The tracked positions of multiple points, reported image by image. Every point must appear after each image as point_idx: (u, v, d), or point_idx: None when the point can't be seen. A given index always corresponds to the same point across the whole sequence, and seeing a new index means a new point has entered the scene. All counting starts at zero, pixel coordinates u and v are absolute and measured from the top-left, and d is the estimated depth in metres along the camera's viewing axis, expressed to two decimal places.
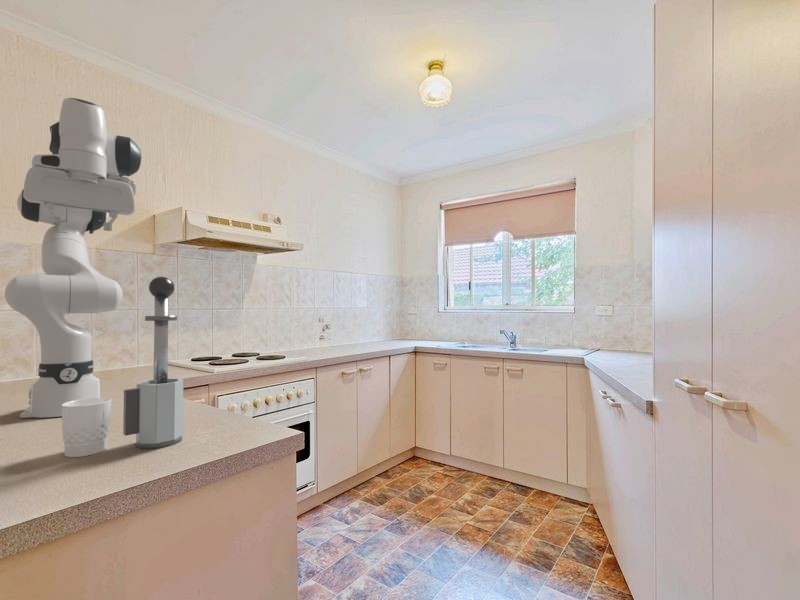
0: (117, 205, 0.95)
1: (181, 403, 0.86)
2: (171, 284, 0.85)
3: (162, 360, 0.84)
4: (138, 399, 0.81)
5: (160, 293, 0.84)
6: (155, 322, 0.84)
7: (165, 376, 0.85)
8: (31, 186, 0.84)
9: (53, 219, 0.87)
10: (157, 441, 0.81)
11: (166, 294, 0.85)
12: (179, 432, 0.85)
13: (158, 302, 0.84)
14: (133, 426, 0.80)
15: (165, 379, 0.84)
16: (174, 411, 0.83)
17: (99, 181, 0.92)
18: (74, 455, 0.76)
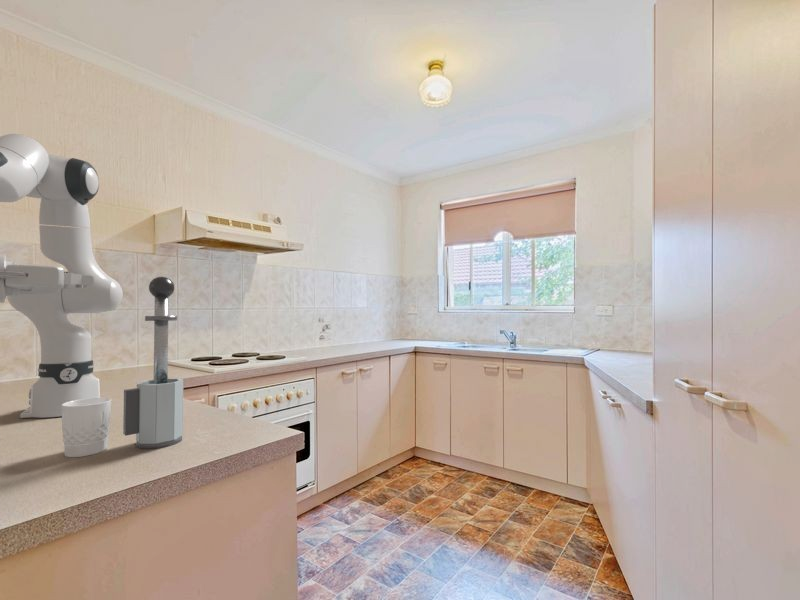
0: None
1: (181, 403, 0.86)
2: (171, 284, 0.85)
3: (162, 360, 0.84)
4: (138, 399, 0.81)
5: (160, 293, 0.84)
6: (155, 322, 0.84)
7: (165, 376, 0.85)
8: (38, 292, 0.81)
9: (80, 287, 0.83)
10: (157, 441, 0.81)
11: (166, 294, 0.85)
12: (179, 432, 0.85)
13: (158, 302, 0.84)
14: (133, 426, 0.80)
15: (165, 379, 0.84)
16: (174, 411, 0.83)
17: (12, 287, 0.70)
18: (74, 455, 0.76)
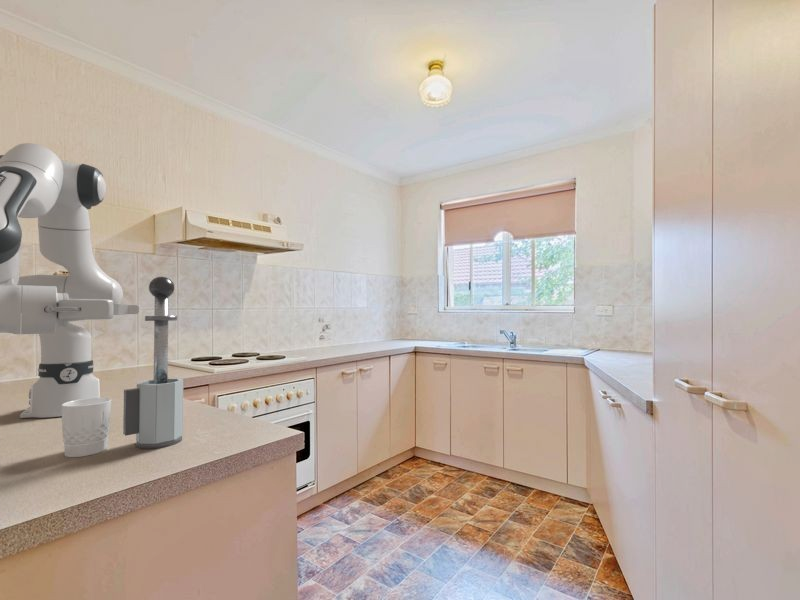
0: None
1: (181, 403, 0.86)
2: (171, 284, 0.85)
3: (162, 360, 0.84)
4: (138, 399, 0.81)
5: (160, 293, 0.84)
6: (155, 322, 0.84)
7: (165, 376, 0.85)
8: None
9: None
10: (157, 441, 0.81)
11: (166, 294, 0.85)
12: (179, 432, 0.85)
13: (158, 302, 0.84)
14: (133, 426, 0.80)
15: (165, 379, 0.84)
16: (174, 411, 0.83)
17: (64, 319, 0.72)
18: (74, 455, 0.76)
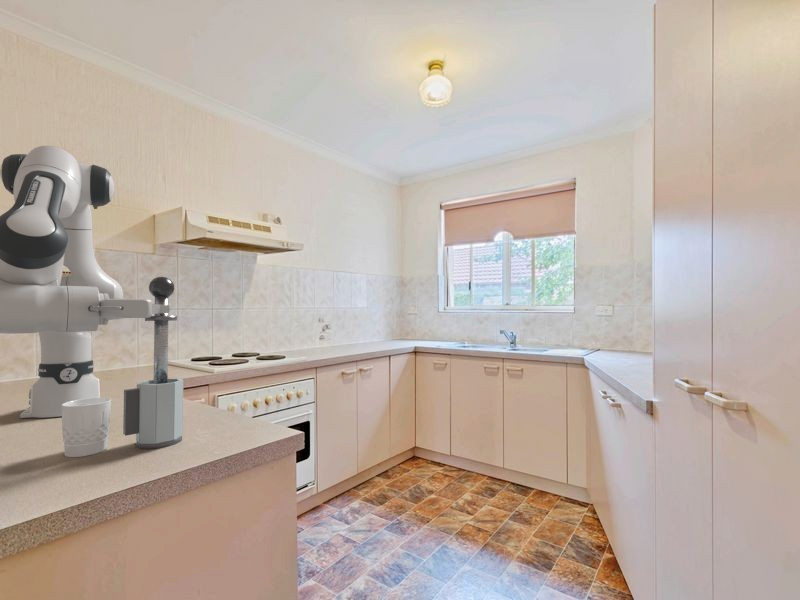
0: None
1: (181, 403, 0.86)
2: (171, 284, 0.85)
3: (162, 360, 0.84)
4: (138, 399, 0.81)
5: (160, 293, 0.84)
6: (155, 322, 0.84)
7: (165, 376, 0.85)
8: (117, 318, 0.87)
9: None
10: (157, 441, 0.81)
11: (166, 294, 0.85)
12: (179, 432, 0.85)
13: (158, 302, 0.84)
14: (133, 426, 0.80)
15: (165, 379, 0.84)
16: (174, 411, 0.83)
17: (105, 318, 0.76)
18: (74, 455, 0.76)
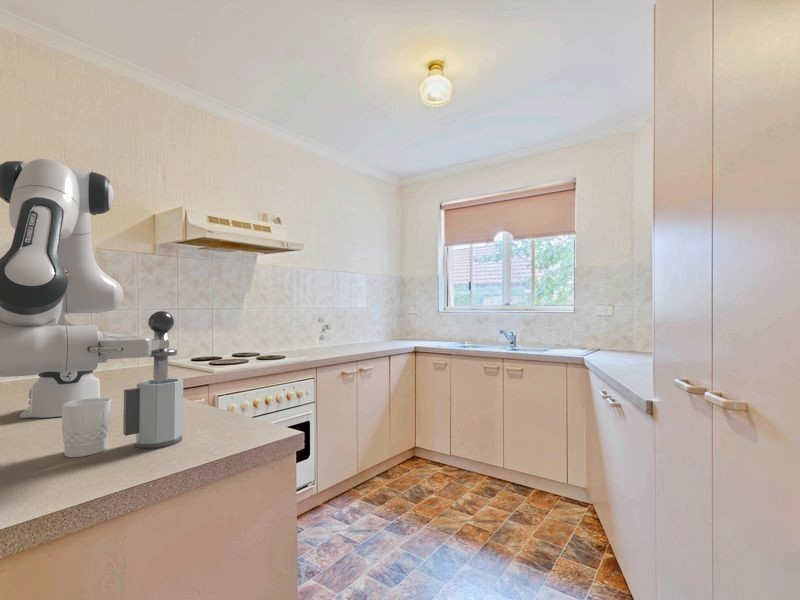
0: None
1: (181, 403, 0.86)
2: (171, 319, 0.85)
3: None
4: (138, 399, 0.81)
5: (159, 328, 0.83)
6: (155, 357, 0.84)
7: None
8: None
9: None
10: (157, 441, 0.81)
11: (166, 329, 0.84)
12: (179, 432, 0.85)
13: (158, 337, 0.84)
14: (133, 426, 0.80)
15: None
16: (174, 411, 0.83)
17: None
18: (74, 455, 0.76)
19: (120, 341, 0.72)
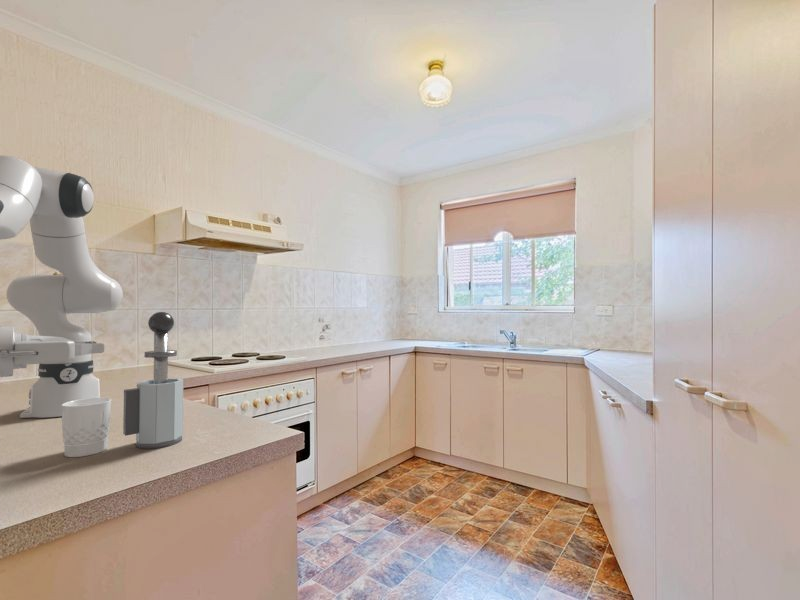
0: None
1: (181, 403, 0.86)
2: (171, 319, 0.85)
3: None
4: (138, 399, 0.81)
5: (159, 329, 0.83)
6: (155, 358, 0.84)
7: None
8: None
9: None
10: (157, 441, 0.81)
11: (166, 330, 0.84)
12: (179, 432, 0.85)
13: (158, 338, 0.84)
14: (133, 426, 0.80)
15: None
16: (174, 411, 0.83)
17: None
18: (74, 455, 0.76)
19: (35, 344, 0.64)
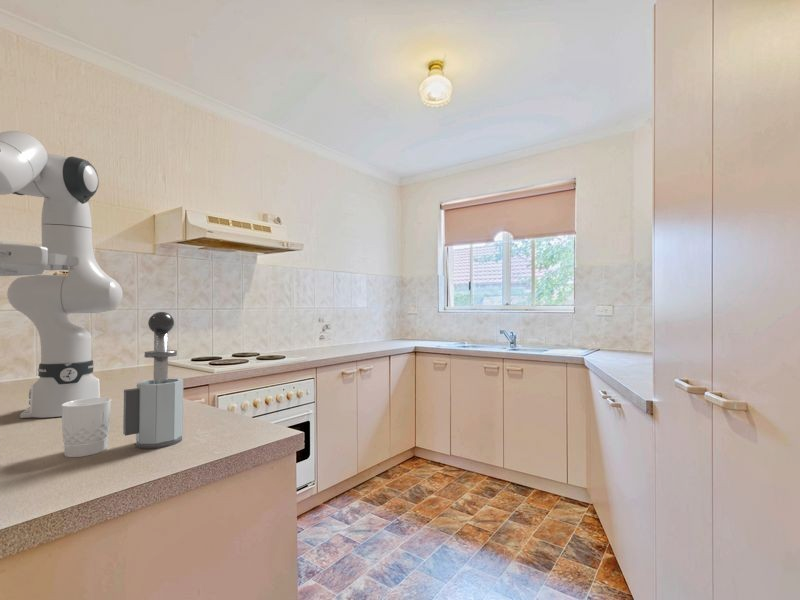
0: (36, 267, 0.71)
1: (181, 403, 0.86)
2: (171, 319, 0.85)
3: None
4: (138, 399, 0.81)
5: (159, 329, 0.83)
6: (155, 358, 0.84)
7: None
8: (25, 274, 0.81)
9: (67, 269, 0.83)
10: (157, 441, 0.81)
11: (166, 330, 0.84)
12: (179, 432, 0.85)
13: (158, 338, 0.84)
14: (133, 426, 0.80)
15: None
16: (174, 411, 0.83)
17: None
18: (74, 455, 0.76)
19: (8, 245, 0.66)
